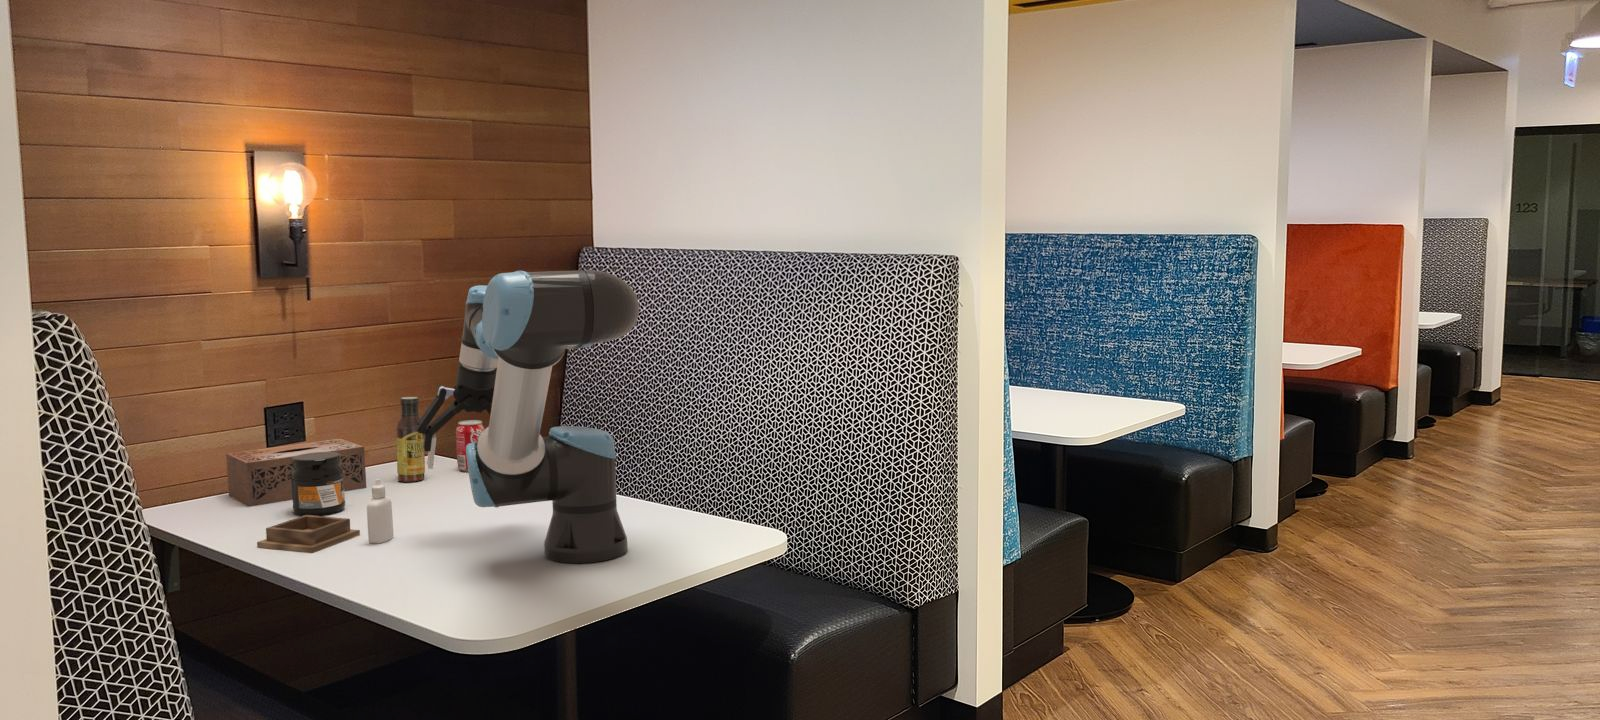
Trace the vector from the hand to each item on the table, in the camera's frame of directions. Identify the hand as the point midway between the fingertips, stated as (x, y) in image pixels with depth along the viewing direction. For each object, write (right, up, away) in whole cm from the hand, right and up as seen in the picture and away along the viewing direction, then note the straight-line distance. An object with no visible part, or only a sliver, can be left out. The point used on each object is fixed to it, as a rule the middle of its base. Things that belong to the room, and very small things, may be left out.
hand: (465, 467), depth 232 cm
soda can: (-15, -6, +59) cm, 61 cm away
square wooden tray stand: (-29, -14, -5) cm, 32 cm away
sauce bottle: (-26, -8, +48) cm, 55 cm away
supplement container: (-36, -11, +19) cm, 43 cm away
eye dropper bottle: (-15, -14, -5) cm, 21 cm away
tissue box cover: (-49, -9, +37) cm, 62 cm away
